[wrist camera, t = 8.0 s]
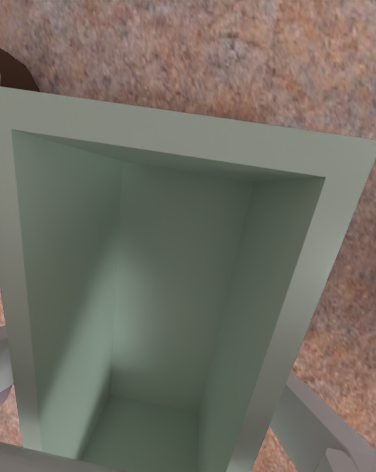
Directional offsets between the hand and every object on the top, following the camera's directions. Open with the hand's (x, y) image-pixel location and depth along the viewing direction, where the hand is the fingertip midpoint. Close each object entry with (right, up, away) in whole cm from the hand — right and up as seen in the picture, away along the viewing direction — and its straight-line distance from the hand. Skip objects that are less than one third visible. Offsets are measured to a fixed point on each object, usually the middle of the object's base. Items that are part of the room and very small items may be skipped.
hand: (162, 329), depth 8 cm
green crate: (0, +1, +2) cm, 2 cm away
